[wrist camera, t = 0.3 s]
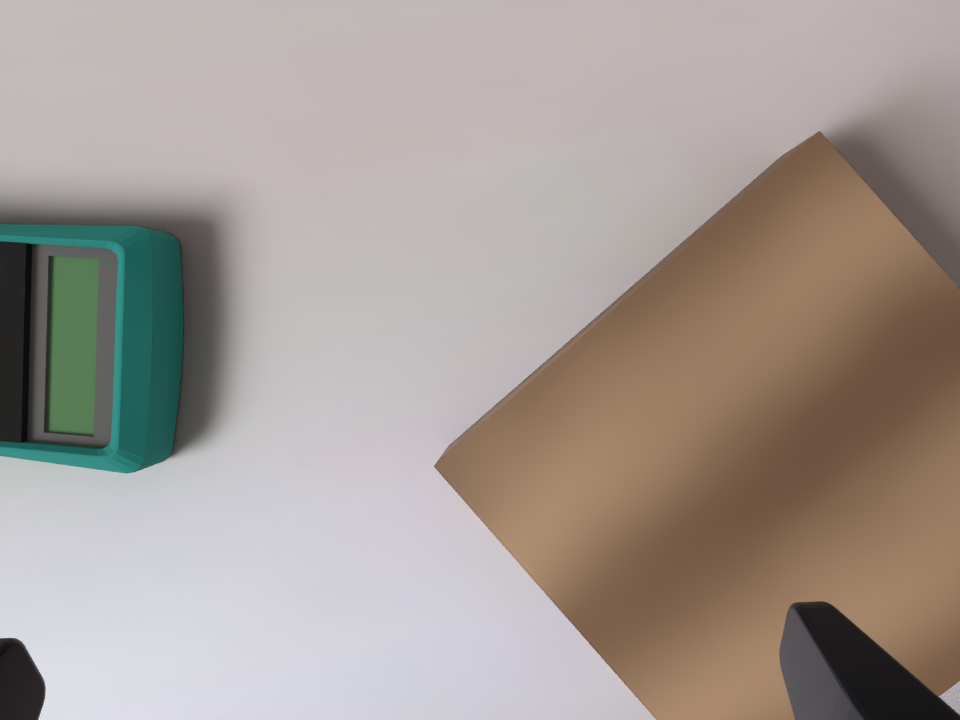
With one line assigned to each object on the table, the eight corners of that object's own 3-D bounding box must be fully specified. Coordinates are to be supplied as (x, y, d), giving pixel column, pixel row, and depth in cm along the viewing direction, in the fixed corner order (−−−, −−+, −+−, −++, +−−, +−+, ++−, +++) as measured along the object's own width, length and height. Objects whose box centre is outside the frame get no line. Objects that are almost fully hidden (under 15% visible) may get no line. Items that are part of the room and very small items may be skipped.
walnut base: (1081, 494, 21) (1169, 524, 18) (727, 764, 23) (755, 832, 20) (781, 156, 21) (819, 130, 18) (448, 445, 23) (434, 466, 20)
